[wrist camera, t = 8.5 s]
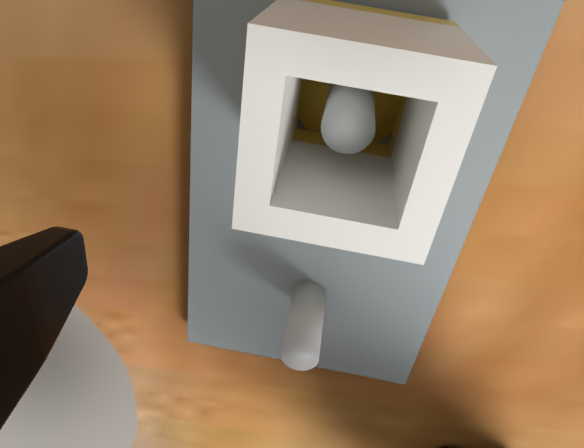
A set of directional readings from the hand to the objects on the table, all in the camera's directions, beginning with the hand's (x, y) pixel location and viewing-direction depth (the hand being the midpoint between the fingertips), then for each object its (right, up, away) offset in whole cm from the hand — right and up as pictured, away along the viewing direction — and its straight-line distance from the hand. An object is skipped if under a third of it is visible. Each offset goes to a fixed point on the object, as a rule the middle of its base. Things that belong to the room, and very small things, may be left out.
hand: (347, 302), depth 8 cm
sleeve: (+1, +6, +9) cm, 11 cm away
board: (+1, +3, +13) cm, 13 cm away
